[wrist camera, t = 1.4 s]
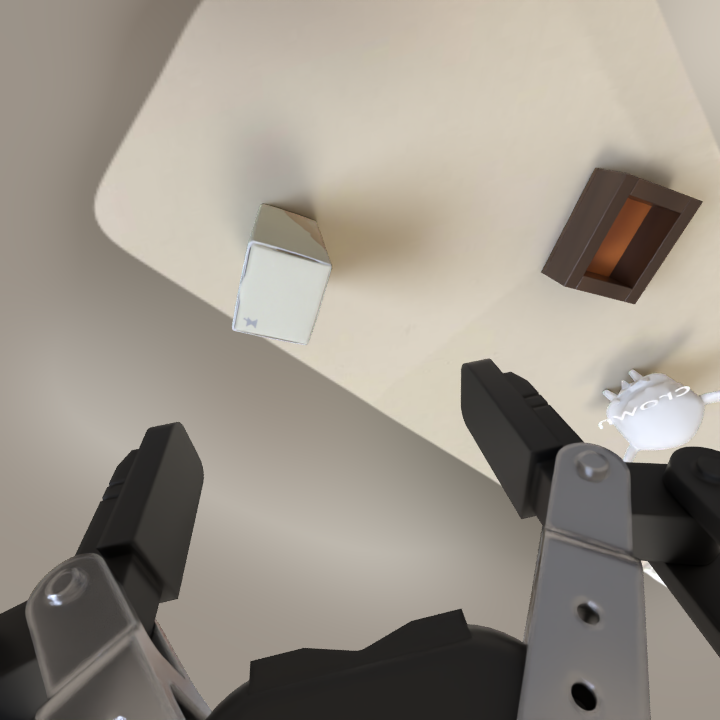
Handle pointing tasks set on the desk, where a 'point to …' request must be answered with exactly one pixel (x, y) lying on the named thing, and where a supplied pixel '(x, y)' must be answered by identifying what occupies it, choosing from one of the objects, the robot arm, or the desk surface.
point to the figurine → (656, 412)
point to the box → (282, 277)
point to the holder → (618, 235)
